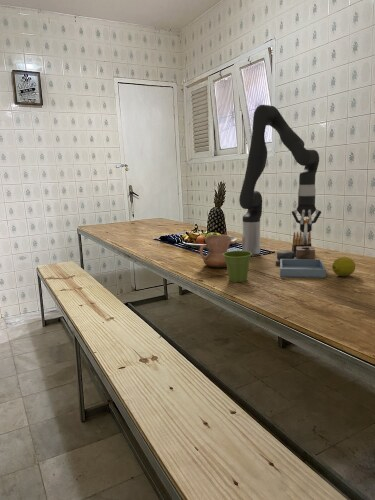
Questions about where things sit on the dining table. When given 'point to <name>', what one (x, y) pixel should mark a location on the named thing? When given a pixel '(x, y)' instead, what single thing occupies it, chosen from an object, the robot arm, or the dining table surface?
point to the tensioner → (300, 254)
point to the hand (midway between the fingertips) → (305, 231)
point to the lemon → (343, 266)
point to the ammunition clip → (300, 241)
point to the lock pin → (305, 231)
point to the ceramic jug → (216, 250)
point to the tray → (302, 268)
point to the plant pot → (237, 265)
